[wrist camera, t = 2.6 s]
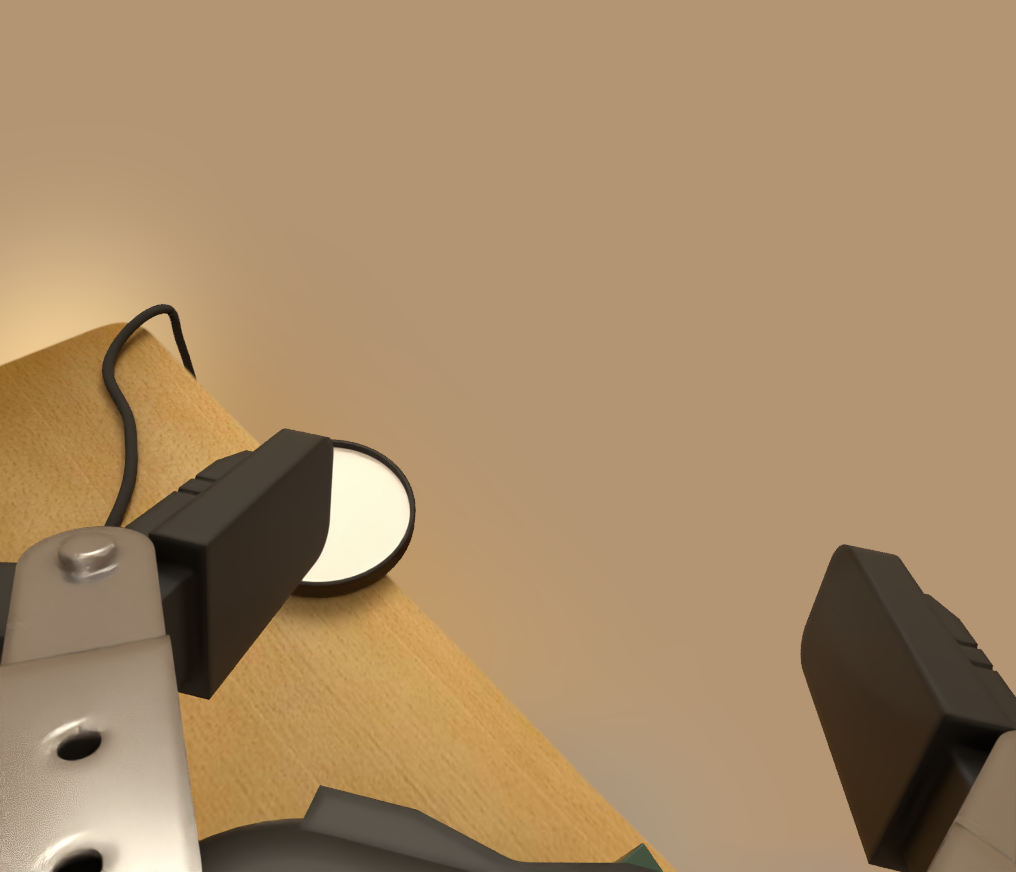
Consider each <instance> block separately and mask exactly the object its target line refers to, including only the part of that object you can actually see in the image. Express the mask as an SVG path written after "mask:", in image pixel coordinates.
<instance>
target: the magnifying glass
mask: <svg viewBox="0 0 1016 872" xmlns="http://www.w3.org/2000/svg"><path fill="white" fill-rule="evenodd" d="M332 443H333V448H334V458H333V476H332V493H331V511H330V525H329V531H328V536H327V540H326V543H325V546H324V548H323V551H322V553H321V555H320V557H319V559H318V560H317V562H316V563H315V564H314V565H313V567H312V568H311V569H310V571H309V572H308V573H307V574H306V576H305V577H304V578H303V580H302V581H301V582H300V583H299V585H298V586H297V587H296V589H295V590H294V591H293V592H292V594H294V595H299V596H306V597H331V596H337V595H343V594H346V593H350V592H354V591H356V590H359V589H361V588H364V587H366V586H368V585H370V584H372V583H374V582H375V581H377V580H379V579H380V578H381V577H383V576H384V575H386V574H387V573H388V572H389V571H390V570H391V569H392V568H393V567H394V566H395V565H396V564H397V563H398V561H399V560H400V559H401V558H402V556H403V555H404V553H405V551H406V550H407V548H408V545H409V543H410V541H411V537H412V534H413V530H414V523H415V512H416V509H415V499H414V495H413V491H412V488H411V486H410V483H409V482H408V480H407V478H406V476H405V475H404V474H403V472H402V471H401V470H400V469H399V467H398V466H397V465H395V464H394V463H393V462H392V461H391V460H390V459H388V458H387V457H386V456H384V455H383V454H381V453H379V452H378V451H376V450H374V449H371V448H369V447H367V446H364V445H360V444H358V443H353V442H348V441H342V440H332Z"/></svg>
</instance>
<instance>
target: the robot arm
mask: <svg viewBox="0 0 1016 872" xmlns="http://www.w3.org/2000/svg"><path fill="white" fill-rule="evenodd" d="M163 313H166V314H168V316H169V318H170V321H171V325H172V330H173V334H174V338H175V341H176V344H177V347H178V350H179V353H180V355H181V358H182V361H183V365H184V367H185V369H186V370H187V371H188V372H189V373H190V374H191V375H192V376H193V377H194V378H195V379H196V375H195V372H194V369H193V365H192V362H191V359H190V355H189V353H188V349H187V346H186V344H185V340H184V337H183V334H182V329H181V324H180V319H179V316H178V313H177V311H176V310H175V309H174V308H173V307H172V306H170V305H166V304H161V305H156V306H153V307H151V308H149V309H147V310H145V311H143V312H142V313H140V314H139V315H138V316H136V317H135V318H134V319H133V320H132V321H130V322H129V323H128V324H127V325H126V326H125V327H124V328H123V329H122V330H121V332H120V333H119V334H118V335H117V337H116V338H115V339H114V341H113V342H112V344H111V345H110V347H109V349H108V351H107V353H106V355H105V358H104V361H103V367H102V373H103V379H104V382H105V385H106V387H107V390H108V392H109V394H110V395H111V397H112V399H113V400H114V402H115V404H116V406H117V407H118V409H119V411H120V414H121V416H122V419H123V422H124V431H125V469H124V475H123V480H122V484H121V488H120V491H119V494H118V497H117V499H116V502H115V504H114V507H113V509H112V511H111V513H110V515H109V517H108V519H107V521H106V523H105V525H104V526H97V527H86V528H79V529H74V530H70V531H65V532H62V533H59V534H56V535H53V536H51V537H48V538H46V539H44V540H42V541H40V542H38V543H36V544H35V545H33V546H32V547H30V548H29V549H28V550H26V551H25V552H24V553H23V554H22V556H21V557H20V558H19V560H18V562H17V563H8V562H0V872H661V871H657V870H653V869H649V868H645V867H641V866H637V865H633V864H629V863H528V862H519V861H515V860H512V859H510V858H507V857H505V856H503V855H501V854H500V853H498V852H496V851H494V850H492V849H490V848H488V847H486V846H484V845H483V844H481V843H479V842H477V841H475V840H473V839H471V838H469V837H467V836H466V835H464V834H462V833H460V832H458V831H456V830H454V829H452V828H450V827H449V826H447V825H445V824H443V823H441V822H439V821H437V820H435V819H433V818H432V817H430V816H428V815H426V814H424V813H422V812H420V811H418V810H416V809H412V808H408V807H404V806H400V805H396V804H392V803H388V802H384V801H380V800H376V799H372V798H368V797H364V796H360V795H356V794H352V793H348V792H344V791H340V790H337V789H333V788H329V787H325V786H321V785H320V786H319V788H318V790H317V792H316V794H315V796H314V799H313V801H312V803H311V805H310V807H309V809H308V811H307V813H306V815H305V817H304V818H299V819H282V820H273V821H264V822H259V823H255V824H250V825H245V826H241V827H237V828H234V829H231V830H228V831H225V832H221V833H218V834H215V835H212V836H210V837H207V838H205V839H203V840H201V841H198V835H197V828H196V821H195V814H194V806H193V799H192V792H191V784H190V777H189V770H188V763H187V755H186V748H185V741H184V733H183V726H182V719H181V712H180V704H179V697H178V692H180V693H184V694H188V695H192V696H196V697H200V698H204V699H208V700H209V699H210V698H211V697H212V696H213V694H214V693H215V692H216V690H217V689H218V688H219V687H220V685H221V684H222V683H223V681H224V680H225V679H226V677H227V676H228V675H229V674H230V672H231V671H232V670H233V668H234V667H235V666H236V665H237V663H238V662H239V661H240V659H241V658H242V657H243V656H244V654H245V653H246V652H247V650H248V649H249V648H250V647H251V645H252V644H253V643H254V641H255V640H256V639H257V638H258V636H259V635H260V634H261V632H262V631H263V630H264V629H265V627H266V626H267V625H268V623H269V622H270V621H271V620H272V618H273V617H274V616H275V614H276V613H277V612H278V610H279V609H280V608H281V607H282V605H283V604H284V603H285V601H286V600H287V599H288V598H289V596H290V595H291V594H292V592H293V591H294V590H295V589H296V587H297V586H298V585H299V583H300V582H301V581H302V580H303V578H304V577H305V576H306V574H307V573H308V572H309V571H310V569H311V568H312V567H313V565H314V564H315V563H316V562H317V560H318V559H319V557H320V555H321V553H322V551H323V548H324V546H325V543H326V540H327V536H328V531H329V525H330V511H331V493H332V476H333V458H334V448H333V443H332V440H331V439H330V438H329V437H324V436H319V435H315V434H310V433H305V432H300V431H295V430H290V429H282V430H281V431H279V432H278V433H277V434H275V435H274V436H273V437H271V438H270V439H269V440H268V441H266V442H265V443H264V444H262V445H261V446H260V447H259V448H257V449H256V450H255V451H253V452H251V451H247V450H246V451H243V452H240V453H237V454H234V455H231V456H228V457H225V458H222V459H219V460H216V461H215V462H214V463H212V464H211V465H209V466H208V467H207V468H205V469H204V470H203V471H201V472H200V473H198V474H197V475H196V478H195V479H190V480H189V481H188V482H186V483H185V484H183V485H182V486H181V487H179V490H178V492H177V491H174V492H172V493H171V494H170V495H168V496H167V497H166V498H164V499H163V500H162V501H160V502H159V503H157V504H156V505H155V506H153V507H152V508H151V509H149V510H148V511H146V512H145V513H144V514H142V515H141V516H140V517H138V518H137V519H135V520H134V521H133V522H131V523H130V524H129V525H127V526H126V527H125V528H121V527H118V526H119V524H120V522H121V520H122V517H123V515H124V513H125V511H126V508H127V506H128V503H129V501H130V498H131V495H132V492H133V488H134V484H135V479H136V473H137V458H138V454H137V434H136V425H135V420H134V417H133V413H132V411H131V409H130V406H129V404H128V403H127V401H126V399H125V397H124V396H123V394H122V392H121V391H120V389H119V387H118V385H117V383H116V381H115V378H114V364H115V360H116V358H117V355H118V353H119V351H120V350H121V348H122V346H123V345H124V343H125V342H126V341H127V339H128V338H129V337H130V336H131V335H132V333H133V332H134V331H135V330H136V329H137V328H139V327H140V326H141V325H142V324H143V323H144V322H146V321H147V320H149V319H150V318H152V317H154V316H156V315H159V314H163ZM196 380H197V379H196ZM977 645H978V644H977V643H976V642H975V640H974V639H973V637H972V636H971V634H970V633H969V632H968V630H967V629H966V628H965V626H964V625H963V623H962V622H961V621H960V619H959V618H957V617H956V616H955V615H954V614H952V613H951V612H950V611H948V609H946V608H945V607H944V606H942V605H941V604H940V603H939V602H938V601H936V600H935V599H934V598H933V597H932V596H930V595H928V594H924V593H923V592H922V590H921V589H920V587H919V586H918V584H917V583H916V581H915V580H914V579H913V577H912V575H911V574H910V573H909V571H908V570H907V568H906V567H905V565H904V564H903V562H902V561H901V559H900V558H899V557H898V556H896V555H893V554H889V553H883V552H879V551H874V550H869V549H864V548H860V547H855V546H850V545H845V544H844V545H841V546H839V547H838V548H837V549H836V551H835V552H834V554H833V556H832V558H831V560H830V563H829V565H828V568H827V571H826V573H825V576H824V579H823V581H822V584H821V587H820V589H819V591H818V594H817V597H816V600H815V602H814V604H813V607H812V610H811V612H810V615H809V617H808V620H807V623H806V626H805V629H804V632H803V636H802V642H801V664H802V669H803V672H804V675H805V678H806V681H807V684H808V687H809V690H810V693H811V696H812V699H813V702H814V705H815V708H816V710H817V713H818V716H819V719H820V722H821V725H822V728H823V731H824V734H825V737H826V740H827V743H828V746H829V749H830V751H831V754H832V757H833V760H834V763H835V766H836V769H837V772H838V775H839V778H840V781H841V784H842V787H843V790H844V792H845V795H846V798H847V801H848V804H849V807H850V810H851V813H852V816H853V819H854V822H855V825H856V827H857V830H858V833H859V836H860V839H861V842H862V845H863V848H864V851H865V854H866V857H867V860H868V863H869V864H871V865H876V866H879V867H883V868H888V869H892V870H896V871H900V872H1016V697H1015V695H1014V694H1013V693H1012V691H1011V690H1010V689H1009V687H1008V686H1007V684H1006V683H1005V682H1004V680H1003V679H1002V677H1001V676H1000V675H999V673H998V672H997V671H993V669H992V667H993V665H992V664H991V662H990V661H989V660H988V658H987V657H986V655H985V654H984V652H983V651H982V650H981V649H977Z"/></svg>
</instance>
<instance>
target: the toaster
mask: <svg viewBox="0 0 1016 872" xmlns="http://www.w3.org/2000/svg"><path fill="white" fill-rule="evenodd" d="M614 863H629V864H633V865H637V866H641V867H645V868H649V869H653V870H657V871H661V872H663V871H662V869H661V868H660V867H659V865H658V864H657V862H656V861H655V859H654V858H653V856H652V855H651V853H650V852H649V850H648V849H647V848H646V846H645V845H644V844H643V843H642V844H640V845H639V846H637V847H636V848H634V849H633V850H631V851H630V852H629V853H627V854H626V855H624V856H623V857H621V858H620V859H618V860H617V861H615V862H614Z"/></svg>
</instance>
